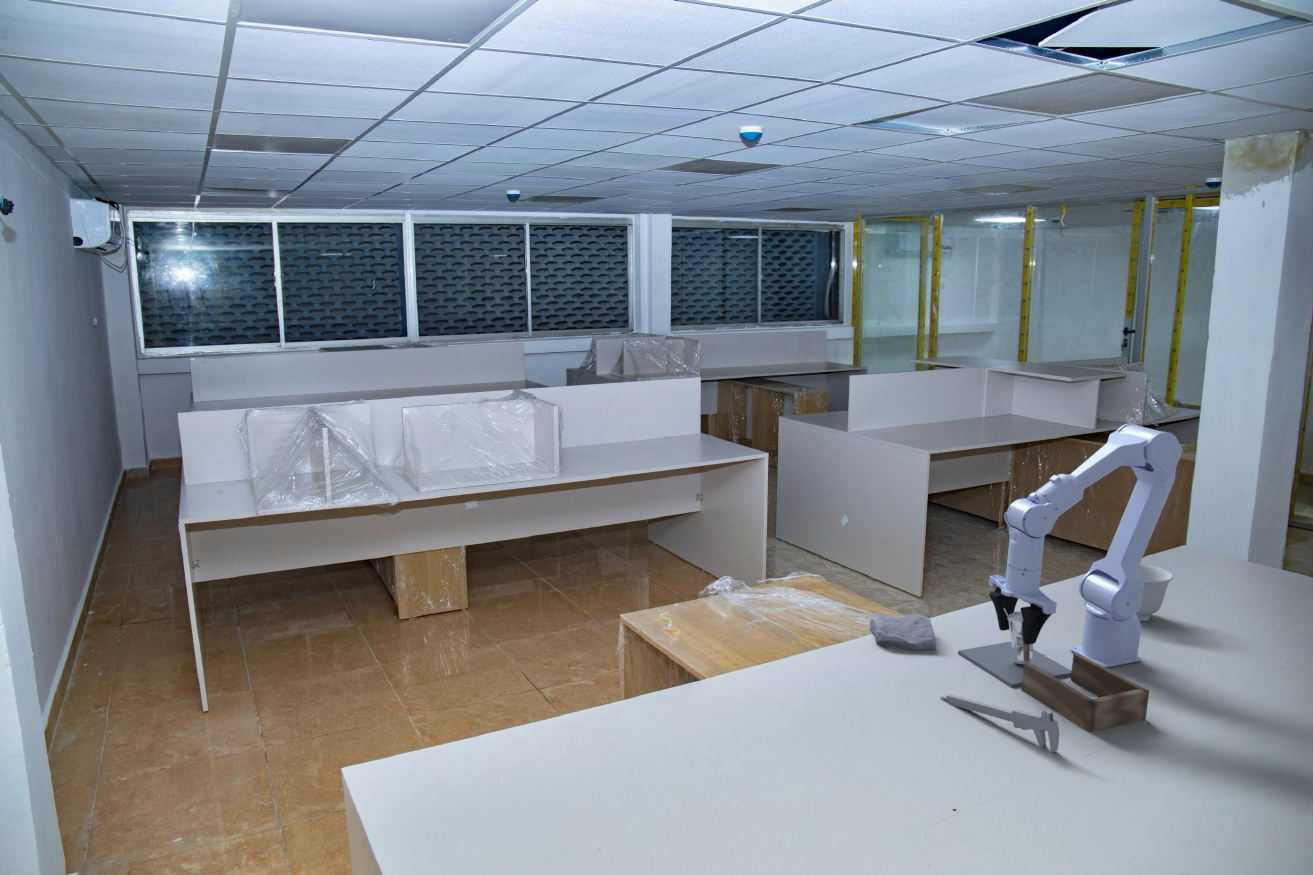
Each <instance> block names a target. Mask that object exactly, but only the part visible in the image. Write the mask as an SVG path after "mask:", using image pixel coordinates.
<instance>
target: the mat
mask: <svg viewBox="0 0 1313 875" xmlns="http://www.w3.org/2000/svg"><path fill="white" fill-rule="evenodd" d="M957 654H958V655H959V656H961V657H963V658H965V659H966V660H968V661H969V662H970V663H972V664H974V665H976V666H977V667H979V668H980V669H982V670H984V671H985V672H986V673H988V674H989V675H990V676H993V677H994V678H996V679H997V680H999V681H1001V682H1002V683H1004V684H1005V685H1007V686H1008V687H1010V688H1015V687H1022V678H1023V669H1024V664H1017V663H1014V662H1013V657H1012V648H1011V641H1005V642H1000V643H994V644H990V645H989V644H988V645H983V646H977V647H972V648H967V649H961V650H960V649H959V650H958V652H957ZM1032 664H1033V665H1034V666H1036V667H1038V668H1040V669H1041V670H1043V671H1045V672H1047V673H1048V674H1050V675H1052V676H1053V677H1055V678H1057V679H1061V678H1066V677H1071V672H1072V669H1069V668H1067V667H1066V666H1064V665H1062V664H1060V663H1058V662H1057V661H1055V660H1053V659H1051V658H1049V657H1048V656H1046V655H1044V654H1043V653H1040V652H1039V651H1037V650H1035V649H1034V648H1033V658H1032Z"/></svg>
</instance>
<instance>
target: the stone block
mask: <svg viewBox="0 0 1313 875" xmlns="http://www.w3.org/2000/svg"><path fill="white" fill-rule="evenodd" d="M933 627H934V626H933V625H932V621H931V619H930V618H929V617H927V616H925V615H923V614H919V613H911V614H902V615H899V616H889V615H888V616H887V615H884V614H882V613H876V614H874V615H873V616H872V617H871V619H870V622H869V632H870V633H871V635H872V636H873V637H874V639H875V643H876V645H882V646H886V647H887V646H888V647H895V648H900V649H906V650H914V651H928V650H929V651H930V650H935V649H937V648H936V647H937V646H936V644H937V643H936V635H935V631H934V628H933Z"/></svg>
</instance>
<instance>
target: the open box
mask: <svg viewBox="0 0 1313 875" xmlns="http://www.w3.org/2000/svg"><path fill="white" fill-rule="evenodd" d="M1071 671H1072V672H1071V676H1070V681H1072V682H1073V683H1075V684H1076V685H1078V686H1080V687H1082V688H1084V689H1086V690H1087V691H1089V692H1091V693H1093V694H1095V695H1097V696H1098V697H1095V698H1091V697H1090V696H1088V695H1086V694H1084V693H1083V692H1081V691H1079V690H1077V689H1076V688H1074V687H1073V686H1071V685H1069V684H1068V683H1065V682H1063V681H1062V680H1060V678H1055V677H1053V676H1052V675H1050V674H1048V673H1047V672H1045V671H1043V670H1041V669H1040V668H1038V667H1036V666H1034V665H1033V664H1031V663H1029V662H1027V663H1024V669H1023V678H1022V685H1021V689H1020V690H1021V691H1023V692H1024V693H1025V694H1028V695H1029V696H1031V697H1032V698H1034V700H1035V699H1036V700H1037V701H1039V702H1040V703H1042V704H1043V705H1045V706H1047V707H1048V708H1049V709H1051V710H1053V711H1054V712H1056V713H1058V714H1059V715H1061V716H1062V717H1063V718H1066V719H1067V720H1069V721H1070V722H1072V723H1074V724H1075V725H1077V726H1078V727H1080V728H1082V729H1083V730H1085V731H1086V732H1088V733H1091V732H1095V731H1099V730H1104V729H1109V728H1111V727H1116V726H1120V725H1125V724H1129V723H1135V722H1139V721H1143V720H1146V718H1147V710H1148V705H1149V704H1148V703H1149V697H1150V690H1149V689H1147V688H1145V687H1143V686H1141V685H1139V684H1137V683H1135V682H1134V681H1132V680H1130V679H1128V678H1127V677H1124V676H1123V675H1121V674H1119V673H1117V672H1114V671H1113V670H1111V669H1109V668H1108V667H1107V668H1105V667H1103V666H1102V665H1100V664H1098V663H1096V662H1094V661H1092V660H1090V659H1088V658H1086V657H1084V656H1083V655H1081V654H1079V653H1073V657H1072V665H1071Z"/></svg>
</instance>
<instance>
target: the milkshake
mask: <svg viewBox="0 0 1313 875" xmlns="http://www.w3.org/2000/svg"><path fill="white" fill-rule="evenodd" d="M1004 610H1005V608H1004ZM1005 612H1006V610H1005ZM1006 615H1007V618H1008V625H1009V630H1008V632H1009V637H1010V642H1011V648H1012V657H1013V662H1014V663H1017V664H1024V663H1027V662H1029V663H1031V664H1032V658H1033V649H1034V644H1028V645H1027V644H1025V643H1024V639H1023V634H1024V622H1023V616H1022V613H1021V611H1014V613H1011V614H1010V615H1008V614H1007V612H1006Z"/></svg>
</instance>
